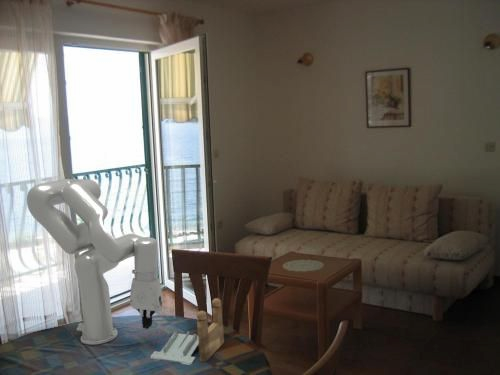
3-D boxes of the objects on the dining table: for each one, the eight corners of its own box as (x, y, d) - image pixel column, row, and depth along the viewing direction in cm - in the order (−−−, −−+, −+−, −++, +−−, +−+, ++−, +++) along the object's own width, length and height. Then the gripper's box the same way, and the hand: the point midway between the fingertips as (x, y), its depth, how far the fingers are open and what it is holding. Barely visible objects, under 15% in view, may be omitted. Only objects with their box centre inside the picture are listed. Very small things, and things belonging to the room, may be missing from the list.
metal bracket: (169, 326, 171) (208, 331, 165) (173, 339, 173) (211, 345, 167) (146, 355, 159) (188, 362, 153) (151, 370, 161) (192, 376, 155)
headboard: (198, 360, 157) (195, 312, 155) (217, 341, 170) (214, 296, 168) (207, 362, 156) (203, 313, 154) (225, 342, 169) (222, 297, 167)
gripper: (120, 275, 167) (121, 327, 170) (160, 281, 161) (160, 335, 164) (133, 268, 174) (134, 319, 177) (171, 274, 168) (172, 326, 171)
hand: (147, 326), depth 170 cm, fingers closed
